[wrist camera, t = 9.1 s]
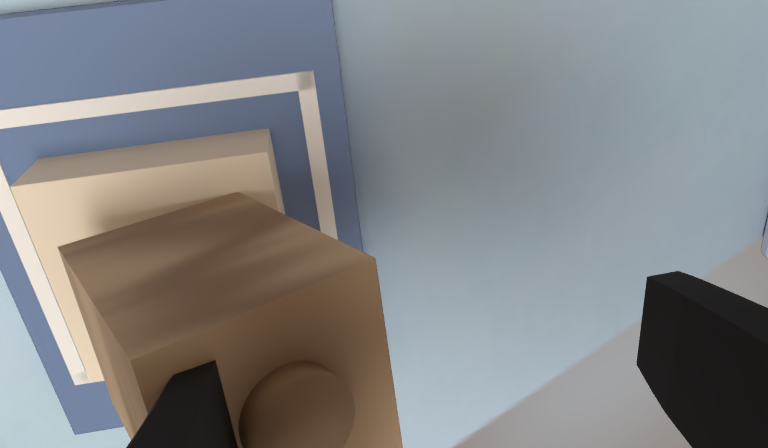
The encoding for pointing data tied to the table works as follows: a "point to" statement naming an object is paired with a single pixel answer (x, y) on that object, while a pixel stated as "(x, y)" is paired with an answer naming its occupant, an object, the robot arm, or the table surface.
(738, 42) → the table surface
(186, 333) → the oak block
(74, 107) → the blueprint board
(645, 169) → the table surface
